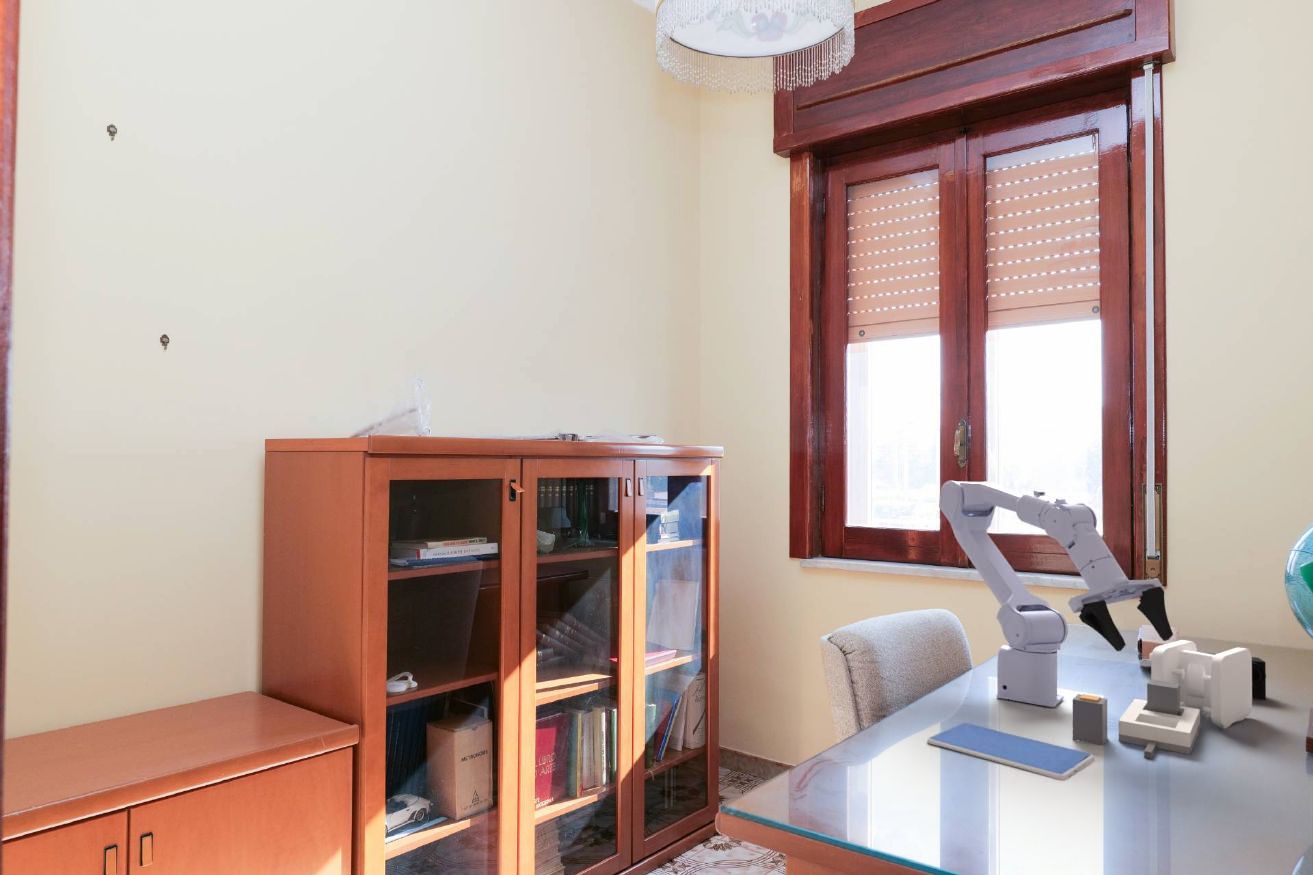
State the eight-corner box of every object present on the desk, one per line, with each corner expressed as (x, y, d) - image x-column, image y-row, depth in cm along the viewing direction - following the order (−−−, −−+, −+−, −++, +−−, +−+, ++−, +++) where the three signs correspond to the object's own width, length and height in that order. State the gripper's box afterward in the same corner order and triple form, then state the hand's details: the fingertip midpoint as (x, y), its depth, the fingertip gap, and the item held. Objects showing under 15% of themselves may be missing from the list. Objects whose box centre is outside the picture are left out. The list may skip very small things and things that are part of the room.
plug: (1072, 739, 123) (1072, 697, 124) (1078, 733, 126) (1078, 691, 127) (1102, 745, 121) (1102, 702, 121) (1107, 738, 124) (1107, 696, 124)
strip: (1185, 765, 113) (1185, 713, 113) (1111, 750, 118) (1111, 701, 119) (1200, 728, 130) (1199, 683, 130) (1134, 716, 136) (1134, 674, 136)
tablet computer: (1096, 762, 115) (1096, 753, 115) (1063, 785, 106) (1063, 774, 106) (963, 729, 129) (963, 721, 129) (924, 746, 120) (924, 737, 120)
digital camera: (1200, 695, 151) (1200, 656, 151) (1193, 688, 156) (1193, 651, 156) (1268, 702, 147) (1268, 662, 147) (1258, 694, 152) (1258, 656, 153)
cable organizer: (1220, 733, 128) (1220, 658, 128) (1147, 716, 136) (1147, 646, 137) (1253, 717, 137) (1253, 647, 138) (1183, 702, 146) (1182, 636, 146)
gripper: (1063, 563, 130) (1109, 641, 121) (1149, 544, 131) (1201, 621, 122) (1050, 585, 135) (1093, 661, 127) (1132, 567, 136) (1181, 641, 128)
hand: (1145, 643), depth 125 cm, fingers open, 7 cm apart
